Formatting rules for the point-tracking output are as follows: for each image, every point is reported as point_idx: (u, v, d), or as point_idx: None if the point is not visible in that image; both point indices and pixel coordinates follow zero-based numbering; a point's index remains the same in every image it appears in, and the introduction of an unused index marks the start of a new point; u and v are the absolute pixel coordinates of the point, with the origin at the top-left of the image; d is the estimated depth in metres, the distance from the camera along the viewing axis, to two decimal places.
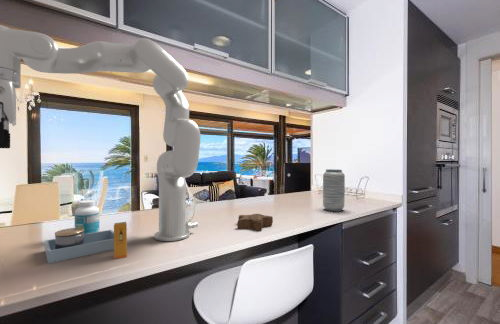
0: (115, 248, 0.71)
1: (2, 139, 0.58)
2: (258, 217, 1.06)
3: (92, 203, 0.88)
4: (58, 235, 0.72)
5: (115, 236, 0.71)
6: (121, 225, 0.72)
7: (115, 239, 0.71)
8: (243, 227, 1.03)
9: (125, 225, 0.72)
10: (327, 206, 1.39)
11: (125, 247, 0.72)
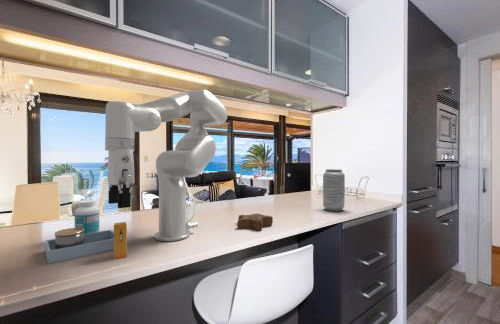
0: (115, 248, 0.71)
1: (127, 201, 0.68)
2: (258, 217, 1.06)
3: (92, 203, 0.88)
4: (58, 235, 0.72)
5: (115, 236, 0.71)
6: (121, 225, 0.72)
7: (115, 239, 0.71)
8: (243, 227, 1.03)
9: (125, 225, 0.72)
10: (327, 206, 1.39)
11: (125, 247, 0.72)
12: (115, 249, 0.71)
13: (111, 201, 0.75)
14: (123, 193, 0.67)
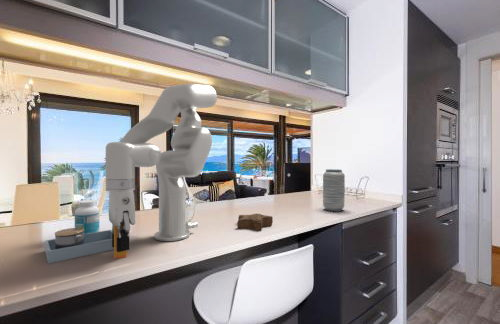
0: (115, 248, 0.71)
1: (126, 245, 0.70)
2: (258, 217, 1.06)
3: (92, 203, 0.88)
4: (58, 235, 0.72)
5: (115, 236, 0.71)
6: (121, 225, 0.72)
7: (115, 239, 0.71)
8: (243, 227, 1.04)
9: None
10: (327, 206, 1.39)
11: None
12: (115, 249, 0.71)
13: None
14: (122, 237, 0.70)
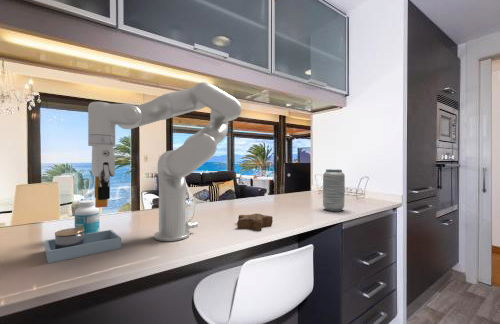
0: (96, 197, 0.79)
1: (106, 194, 0.79)
2: (258, 217, 1.06)
3: (92, 203, 0.88)
4: (58, 235, 0.72)
5: (96, 186, 0.79)
6: None
7: (96, 189, 0.79)
8: (243, 227, 1.04)
9: None
10: (327, 206, 1.39)
11: None
12: (96, 198, 0.79)
13: None
14: (102, 187, 0.78)
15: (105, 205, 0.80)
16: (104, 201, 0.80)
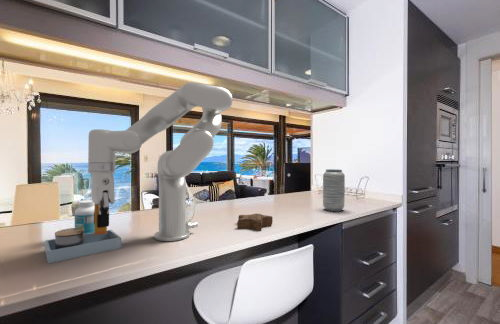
0: (95, 224, 0.79)
1: (106, 221, 0.79)
2: (258, 217, 1.06)
3: (92, 203, 0.88)
4: (58, 235, 0.72)
5: (95, 213, 0.79)
6: None
7: (95, 216, 0.79)
8: (243, 227, 1.04)
9: None
10: (327, 206, 1.39)
11: None
12: (95, 225, 0.79)
13: None
14: (102, 214, 0.78)
15: (104, 232, 0.80)
16: (103, 228, 0.80)
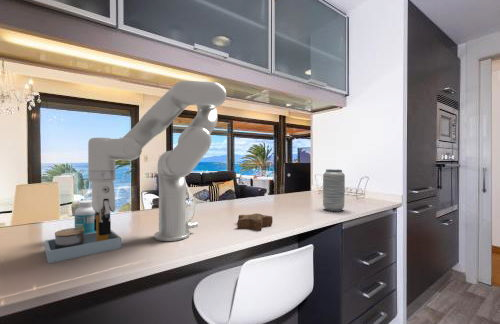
0: (97, 237, 0.79)
1: (107, 229, 0.78)
2: (258, 217, 1.06)
3: None
4: (58, 235, 0.72)
5: (97, 226, 0.79)
6: None
7: (97, 229, 0.79)
8: (243, 227, 1.04)
9: None
10: (327, 206, 1.39)
11: (107, 236, 0.81)
12: (97, 237, 0.79)
13: None
14: (103, 222, 0.77)
15: None
16: None
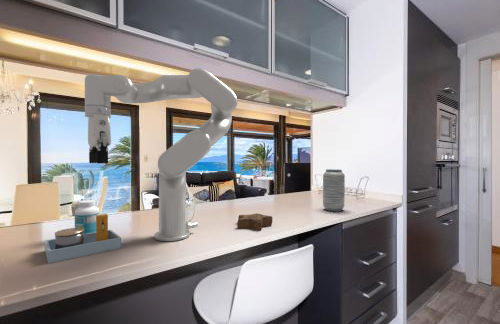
0: (97, 237, 0.79)
1: (105, 158, 0.82)
2: (258, 217, 1.07)
3: (92, 203, 0.88)
4: (58, 235, 0.72)
5: (97, 226, 0.79)
6: (103, 216, 0.80)
7: (97, 229, 0.79)
8: (243, 227, 1.04)
9: (106, 216, 0.81)
10: (327, 206, 1.39)
11: (106, 236, 0.81)
12: (97, 237, 0.79)
13: (91, 161, 0.88)
14: (101, 151, 0.81)
15: None
16: None
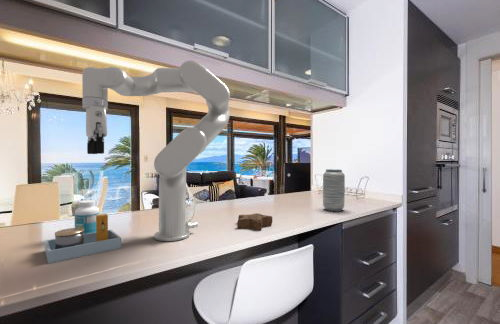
0: (97, 237, 0.79)
1: (101, 148, 0.84)
2: (258, 217, 1.07)
3: (92, 203, 0.88)
4: (58, 235, 0.72)
5: (97, 226, 0.79)
6: (103, 216, 0.80)
7: (97, 229, 0.79)
8: (243, 227, 1.04)
9: (106, 216, 0.81)
10: (327, 206, 1.39)
11: (106, 236, 0.81)
12: (97, 237, 0.79)
13: (89, 152, 0.91)
14: (97, 141, 0.83)
15: None
16: None
